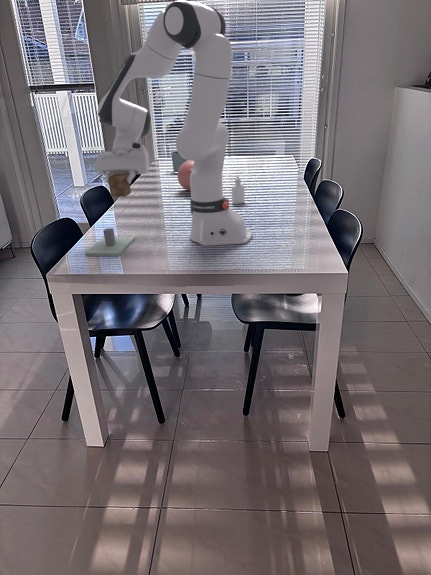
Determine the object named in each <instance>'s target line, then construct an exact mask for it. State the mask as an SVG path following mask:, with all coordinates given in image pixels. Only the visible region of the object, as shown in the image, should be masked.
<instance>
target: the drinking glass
mask: <svg viewBox="0 0 431 575" xmlns="http://www.w3.org/2000/svg"><path fill="white" fill-rule="evenodd" d="M170 155H171V161H172V170H173V173H174V172H178V170H179V168H180V166H181V165H182V164H183V163H184V162H186V161H188V160H186V159H184V158H182V157H181V156H180V154H179V153H178V151H177V150H175V151H171V153H170Z"/></svg>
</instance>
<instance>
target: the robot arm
mask: <svg viewBox="0 0 431 575" xmlns="http://www.w3.org/2000/svg"><path fill="white" fill-rule="evenodd" d="M226 28H227V24H226V21H225V18H224V15H223V14H222V13H221V12H220V11H219V10H218V9H216V8H215V7H211V6H208V5H204V4H203V3H201V2H196V1H188V0H175V1H172V2H170V3H169V4H168V6H166V8H165V10H162V11H160V12H159V13H158V15H157V16H156V18H155V19H154V21H153V23H152V24H151V26H150V29H149V31H148V34H147V36H146V39H145V41H144V44H143V45H142V46H141V48H140V49H139V50H137V51H136V52H131V53H130V54H129V55H128V56H127V57H126V59H125V60H124V61H123V63H122V65H121V67H120V68H119V70H118V72H117V73H116V75H115V77H114V79H113V80H112V82H111V84H110V86H109V88H108V89H107V91H106V92H105V95H104V96H103V97H102V98H101V100H100V101H99V104H98V106H97V116H98V118H99V119H100V121H101V122H102V124H103V125H104V124H105V125H107V126H110V127H115V137H114V139H113V143H112V149H111V150H107V151H106V150H102V151H100V152H99V153H97V157H96V160H95V162H94V165H93V170H94V171H95V172H96V174H98V175H99V176H103V175H104V176H106V177H107V178H106V182H107V184H108V185H109V181H108V177H109V176H111V175H113V174H129V177H126V180H125V182H126V184H130V185H131V183H132V180H133V179H135V177H136V175H146V174H148V173H149V171H150V160H149V157H150V156H149V152H148V150H147V148H146V146H145V145H144V144H143V143H139V142H138V141H139V140H140V139H142V138H144V137H145V136H147V135H148V133H149V130H150V126H151V120H152V117H151V115H150V114H151V113H150V112H149V110H148V109H147V108H145V107H143V106H140V105H138V104H135V103H132V102H130V101H127V100H125V99H122V98H121V96H122V94H123V93H124V91H125V89H126V87H127V85H128V84H129V83H130V81H131V80H135V79H139V78H141V79H142V78H144V79H145V78H146V79H147V78H148V79H159V78H162V77H166V76H167V75H168V74H170V73H171V71H173V68H174V67H175V64H176V62H177V60H178V58H179V55H180V53H181V50H182V47H183V48H185V49H186V50H189V49H192V50H193V52H194V55H195V61H194V62H195V64H194V70H193V71H194V72H193V80H192V81H193V82H192V88H191V98H190V101H189V105H188V109H187V112H186V116H185V119H184V123H183V126H182V128H181V129H180V131H179V133H178V134H177V136H176V140H175V147H176V151H178V153H179V154H180V156H181V157H182V158H184V159H186V160H187V161H188V160H189V161H194V165H193V169H192V172H191V175H190V187H191V191H190V194H191V195H190V200H189V202H190V203H189V206H190V212H191V214H190V215H191V229H190V233H189V239H190V241H193V242H195V243H198V244H200V245H201V246H204V247H205V246H207V247H208V246H221V245H222V246H223V245H225V246H226V245H242V244H247V243H248V242H250V241H251V239H252V237H253V233H252V230H251V229H250V228H248V227H247V228H246V222H245V219H244V218H243V216H242V215H240V214H239V213H238V212H236V211H234V210H233V209H231V207H230V201H229V197H227V198H226V197H225V196H224V195H223V194H224V191H223V188H224V187H223V171H224V162H225V156H226V151H227V150H226V149H227V145H228V143H229V140H230V133H229V132H230V131H229V129H228V128H227V126H226V125H225V124H224V123H222V122H220V119H221V116H222V114H223V112H224V110H225V108H226V105H227V100H228V92H229V88H230V86H229V85H230V79H231V70H232V55H233V54H232V43H231V42H230V40H229V38H227V37H226V36H225V35H226V30H227V29H226Z"/></svg>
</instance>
